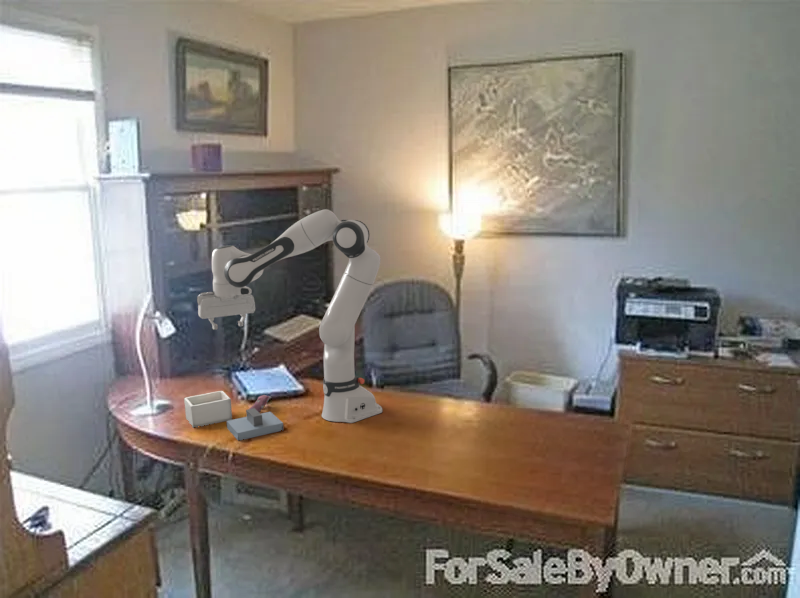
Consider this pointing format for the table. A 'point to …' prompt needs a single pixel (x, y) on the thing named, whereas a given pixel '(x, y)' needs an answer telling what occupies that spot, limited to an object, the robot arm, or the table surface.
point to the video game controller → (260, 403)
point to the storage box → (208, 408)
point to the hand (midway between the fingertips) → (228, 327)
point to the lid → (254, 425)
